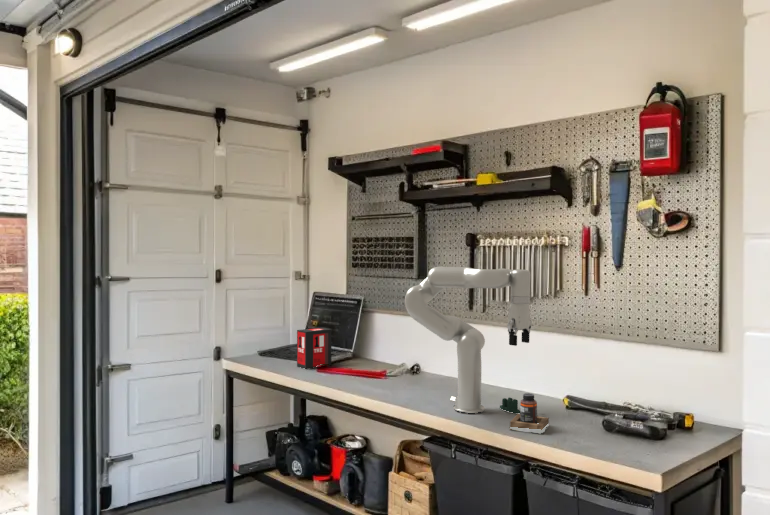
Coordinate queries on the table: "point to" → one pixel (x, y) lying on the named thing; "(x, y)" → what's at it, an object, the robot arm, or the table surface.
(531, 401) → the supplement bottle
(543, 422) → the walnut holder
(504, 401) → the mount
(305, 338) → the cleaning product box
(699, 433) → the table surface
